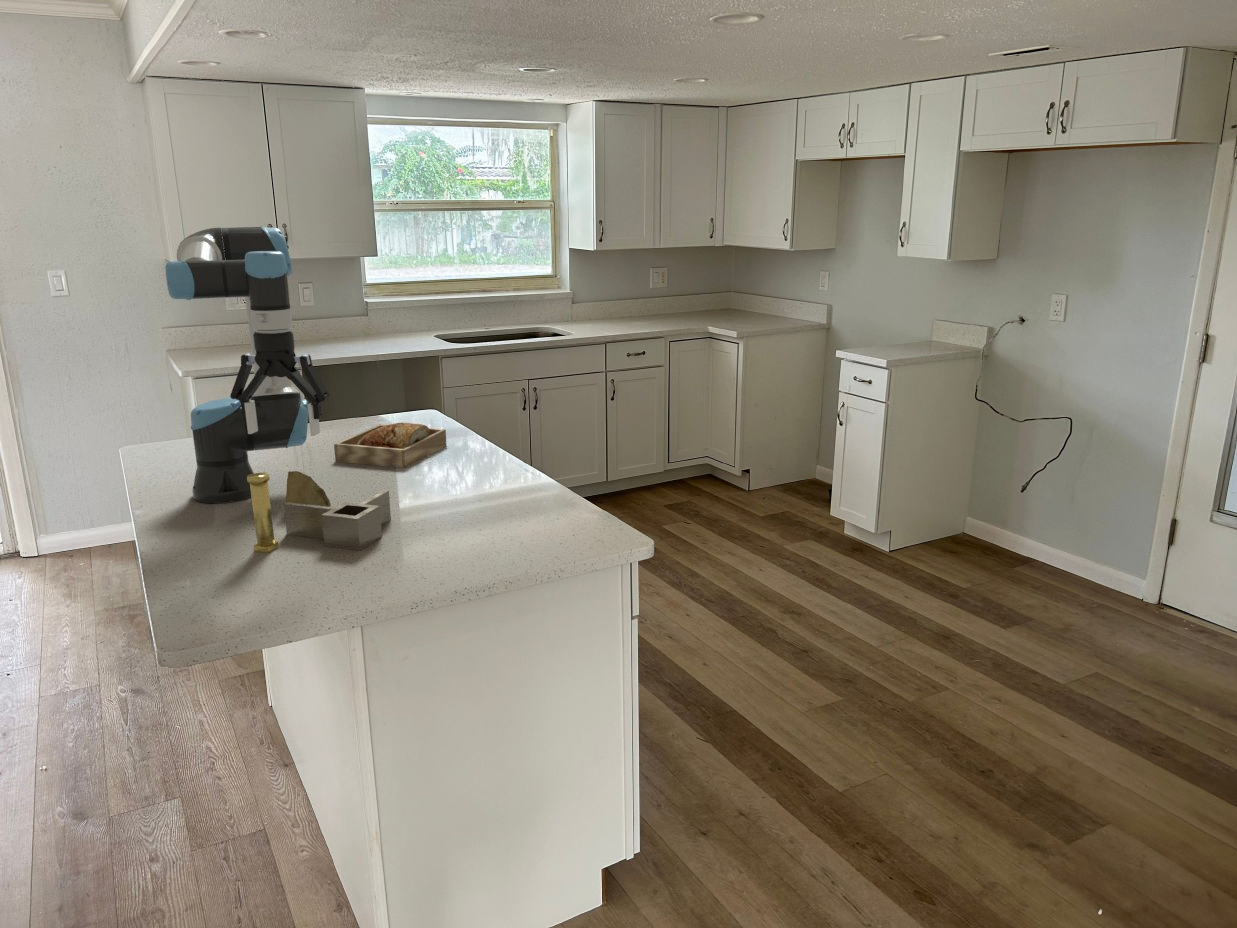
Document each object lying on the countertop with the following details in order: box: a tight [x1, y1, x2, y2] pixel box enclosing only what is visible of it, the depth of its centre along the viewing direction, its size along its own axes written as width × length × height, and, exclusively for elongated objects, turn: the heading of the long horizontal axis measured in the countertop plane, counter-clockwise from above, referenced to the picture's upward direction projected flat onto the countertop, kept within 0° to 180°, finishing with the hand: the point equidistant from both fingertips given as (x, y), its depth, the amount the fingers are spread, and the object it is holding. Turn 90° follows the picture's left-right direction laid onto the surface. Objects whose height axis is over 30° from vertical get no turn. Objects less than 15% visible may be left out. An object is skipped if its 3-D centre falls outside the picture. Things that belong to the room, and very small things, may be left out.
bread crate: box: [333, 424, 448, 469], centre depth 255 cm, size 22×24×5 cm
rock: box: [285, 470, 332, 507], centre depth 207 cm, size 11×9×10 cm
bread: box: [357, 422, 430, 449], centre depth 254 cm, size 20×18×10 cm
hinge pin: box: [247, 472, 280, 554], centre depth 183 cm, size 4×4×16 cm
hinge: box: [283, 489, 392, 551], centre depth 195 cm, size 20×18×7 cm
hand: (284, 433), depth 184 cm, fingers open, 13 cm apart
